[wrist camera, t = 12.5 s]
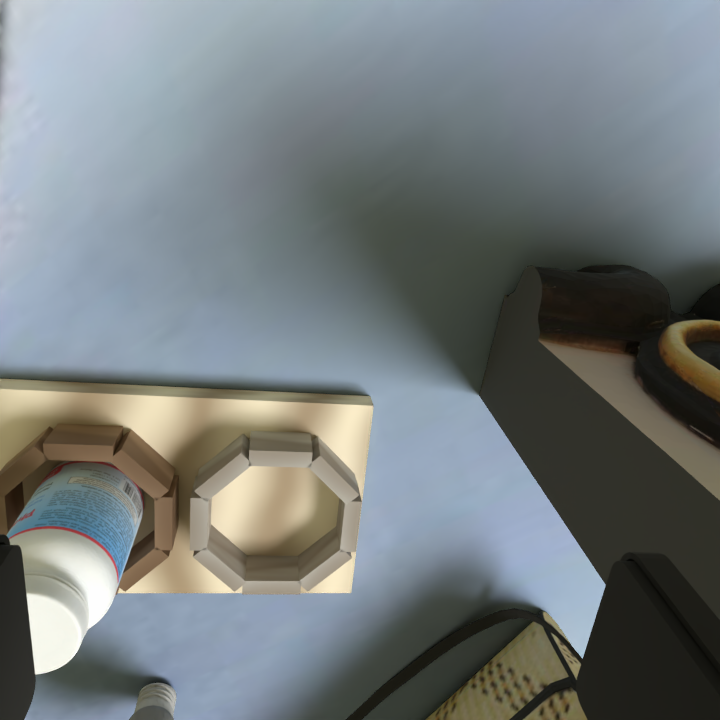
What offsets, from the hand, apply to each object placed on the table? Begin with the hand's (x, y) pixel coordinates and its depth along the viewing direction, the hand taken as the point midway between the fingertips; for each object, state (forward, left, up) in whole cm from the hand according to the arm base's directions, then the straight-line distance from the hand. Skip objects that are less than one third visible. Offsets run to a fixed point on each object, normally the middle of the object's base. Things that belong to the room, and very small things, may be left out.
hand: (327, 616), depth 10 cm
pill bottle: (+11, +15, -27) cm, 33 cm away
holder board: (+5, +15, -28) cm, 32 cm away
